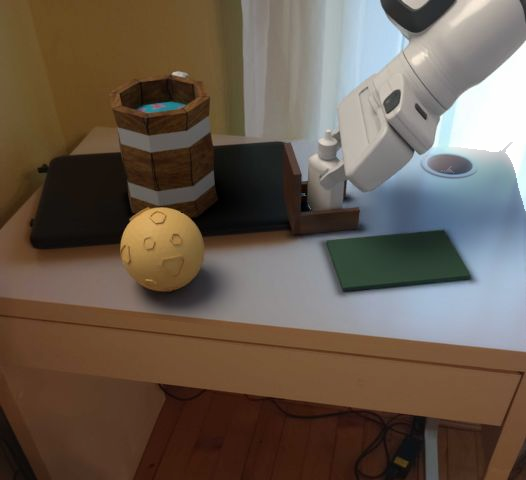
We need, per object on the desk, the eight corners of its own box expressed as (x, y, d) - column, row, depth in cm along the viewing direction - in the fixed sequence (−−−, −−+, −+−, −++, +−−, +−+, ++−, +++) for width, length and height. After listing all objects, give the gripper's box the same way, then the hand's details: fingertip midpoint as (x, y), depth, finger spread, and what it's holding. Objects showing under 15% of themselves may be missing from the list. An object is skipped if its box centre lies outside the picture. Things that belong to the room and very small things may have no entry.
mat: (443, 233, 85) (444, 229, 84) (470, 279, 78) (471, 275, 77) (326, 243, 84) (326, 240, 83) (342, 291, 76) (342, 287, 76)
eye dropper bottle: (311, 225, 86) (314, 142, 78) (305, 203, 90) (308, 121, 82) (343, 222, 86) (349, 139, 78) (336, 201, 90) (341, 120, 82)
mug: (208, 225, 87) (198, 120, 77) (114, 219, 89) (91, 115, 78) (233, 156, 101) (227, 59, 90) (151, 152, 102) (136, 56, 92)
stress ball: (152, 252, 83) (141, 183, 76) (220, 268, 80) (215, 199, 73) (112, 297, 76) (95, 227, 69) (184, 317, 74) (174, 246, 67)
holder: (344, 195, 92) (349, 137, 86) (358, 229, 86) (364, 168, 79) (283, 201, 91) (283, 142, 85) (292, 235, 85) (294, 174, 79)
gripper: (380, 47, 82) (303, 120, 90) (400, 116, 68) (306, 196, 75) (409, 81, 85) (333, 149, 93) (435, 154, 71) (342, 228, 78)
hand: (321, 171), depth 84 cm, fingers closed on eye dropper bottle, 5 cm apart
